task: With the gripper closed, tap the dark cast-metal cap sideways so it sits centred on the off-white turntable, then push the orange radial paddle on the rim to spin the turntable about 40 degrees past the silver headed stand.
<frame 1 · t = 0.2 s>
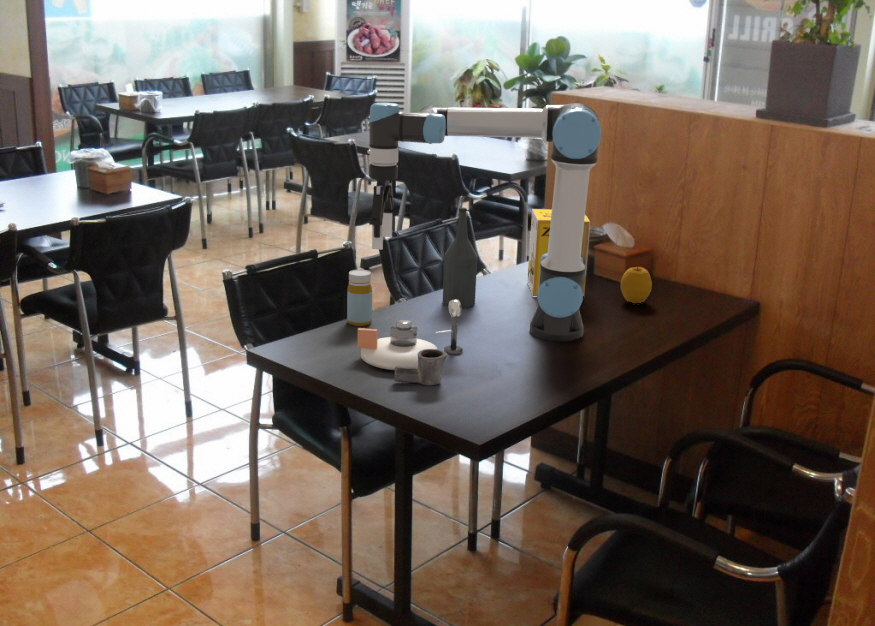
hand: (382, 242, 260), 27 cm above the table, fingers open, 13 cm apart
silver headed stand: (453, 351, 259), on the table
bottle 2: (458, 304, 298), on the table
cover: (403, 342, 257), point 3 cm above the table, touching turntable
turntable: (398, 343, 250), point 4 cm above the table, hinge at 0.0°, touching cover
bottle: (359, 323, 278), on the table
packaging box: (554, 291, 314), on the table
apple: (634, 303, 305), on the table
pipe: (420, 384, 238), on the table
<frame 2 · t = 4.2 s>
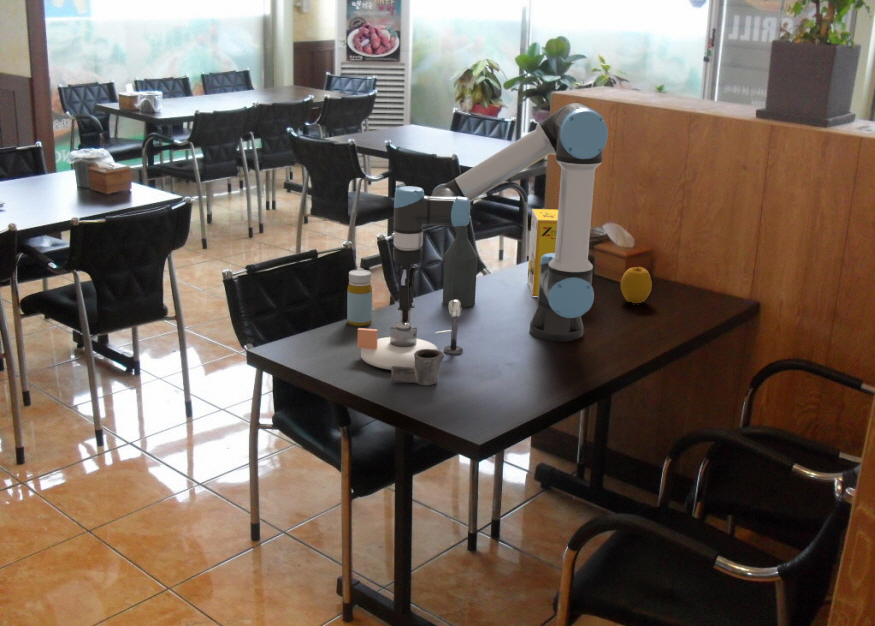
hand: (405, 332, 260), 4 cm above the table, fingers closed
cover: (403, 342, 256), point 3 cm above the table, touching gripper
turntable: (398, 343, 250), point 4 cm above the table, hinge at 0.1°
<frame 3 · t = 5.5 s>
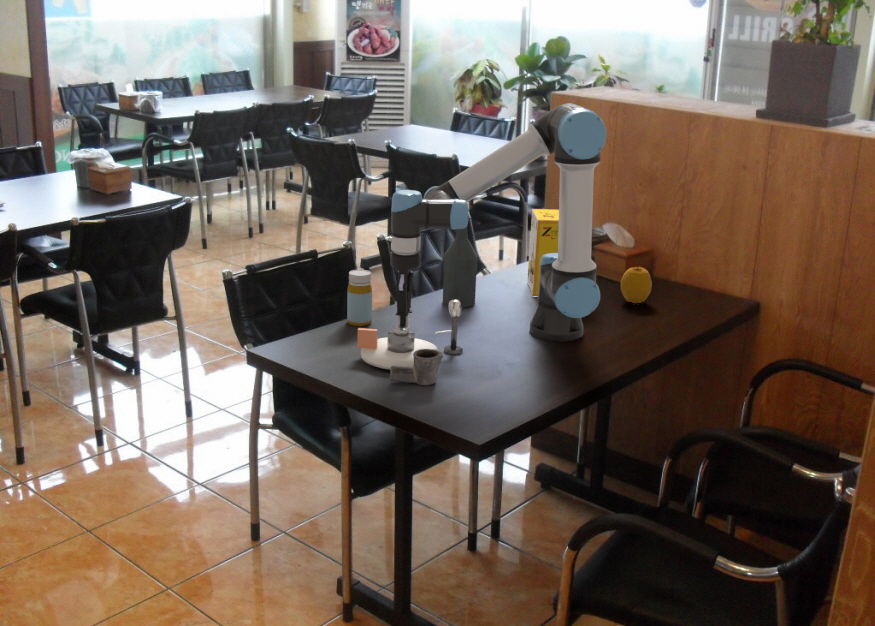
hand: (403, 337, 256), 4 cm above the table, fingers closed
cover: (400, 348, 252), point 3 cm above the table, touching gripper, turntable
turntable: (398, 343, 250), point 4 cm above the table, hinge at 0.0°, touching cover
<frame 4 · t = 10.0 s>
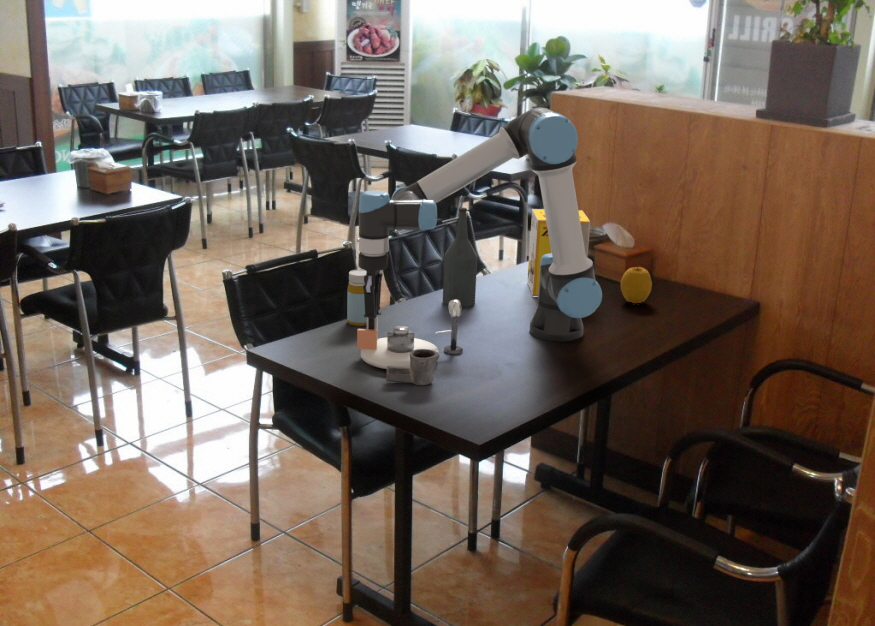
hand: (372, 339, 253), 4 cm above the table, fingers closed
cover: (400, 348, 252), point 3 cm above the table, touching turntable
turntable: (398, 343, 250), point 4 cm above the table, hinge at 3.0°, touching cover
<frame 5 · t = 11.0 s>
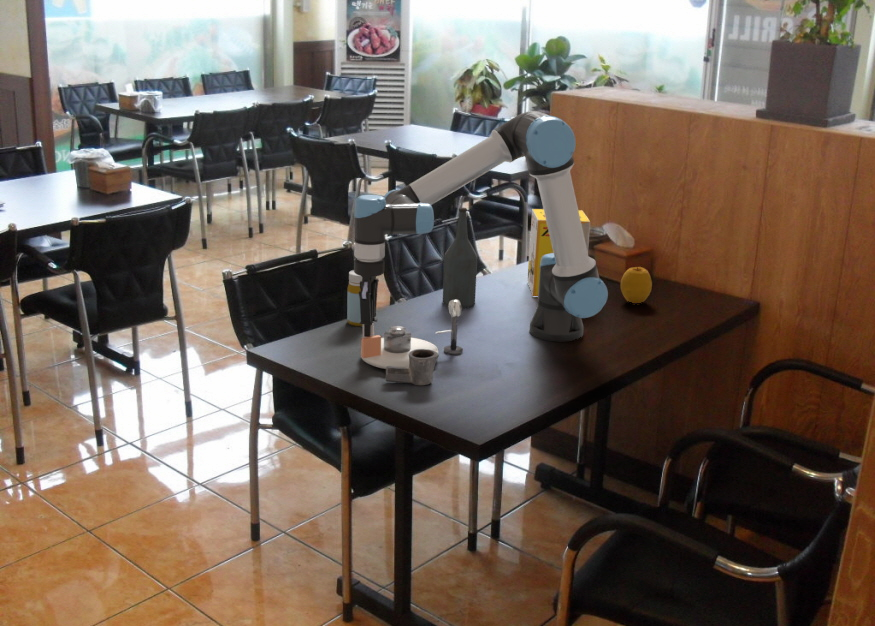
hand: (368, 346, 248), 4 cm above the table, fingers closed
turntable: (398, 344, 250), point 4 cm above the table, hinge at 40.6°, touching cover, gripper
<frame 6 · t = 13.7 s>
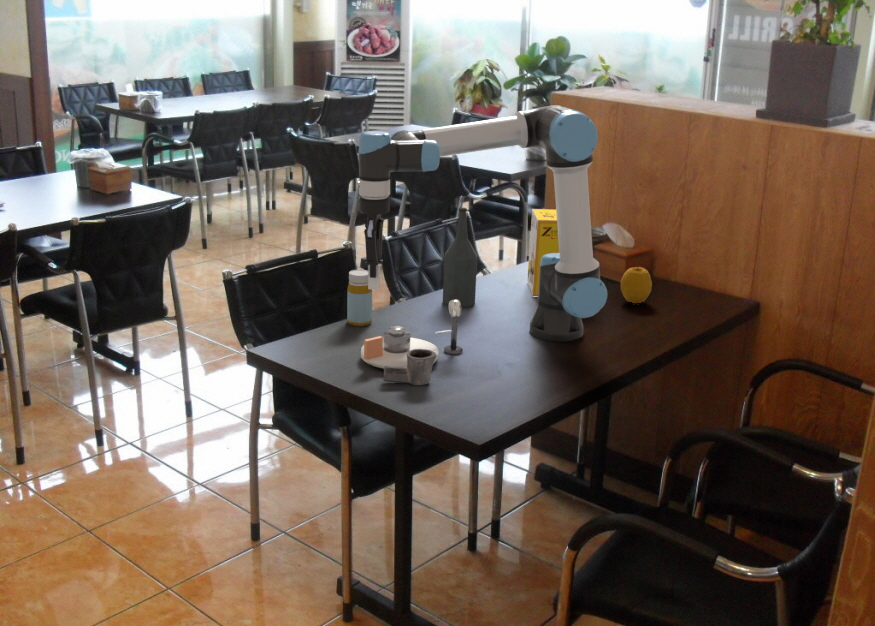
hand: (373, 288, 244), 20 cm above the table, fingers closed
turntable: (398, 344, 250), point 4 cm above the table, hinge at 47.7°, touching cover
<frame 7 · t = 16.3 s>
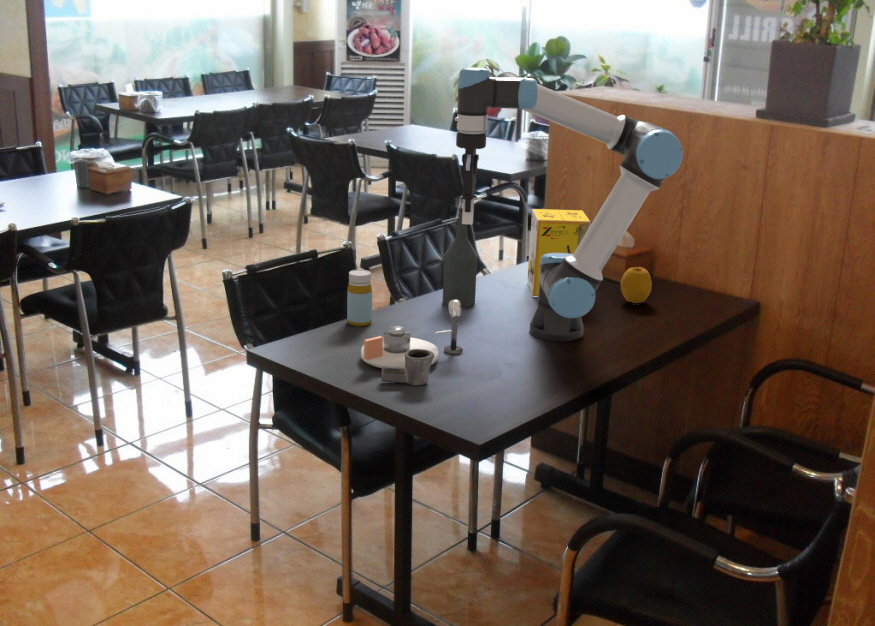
hand: (467, 223, 250), 34 cm above the table, fingers closed
at the end: cover 1.4 cm from the turntable (horizontally); turntable at +48° (first picture: +0°); cover tilted 0° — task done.
